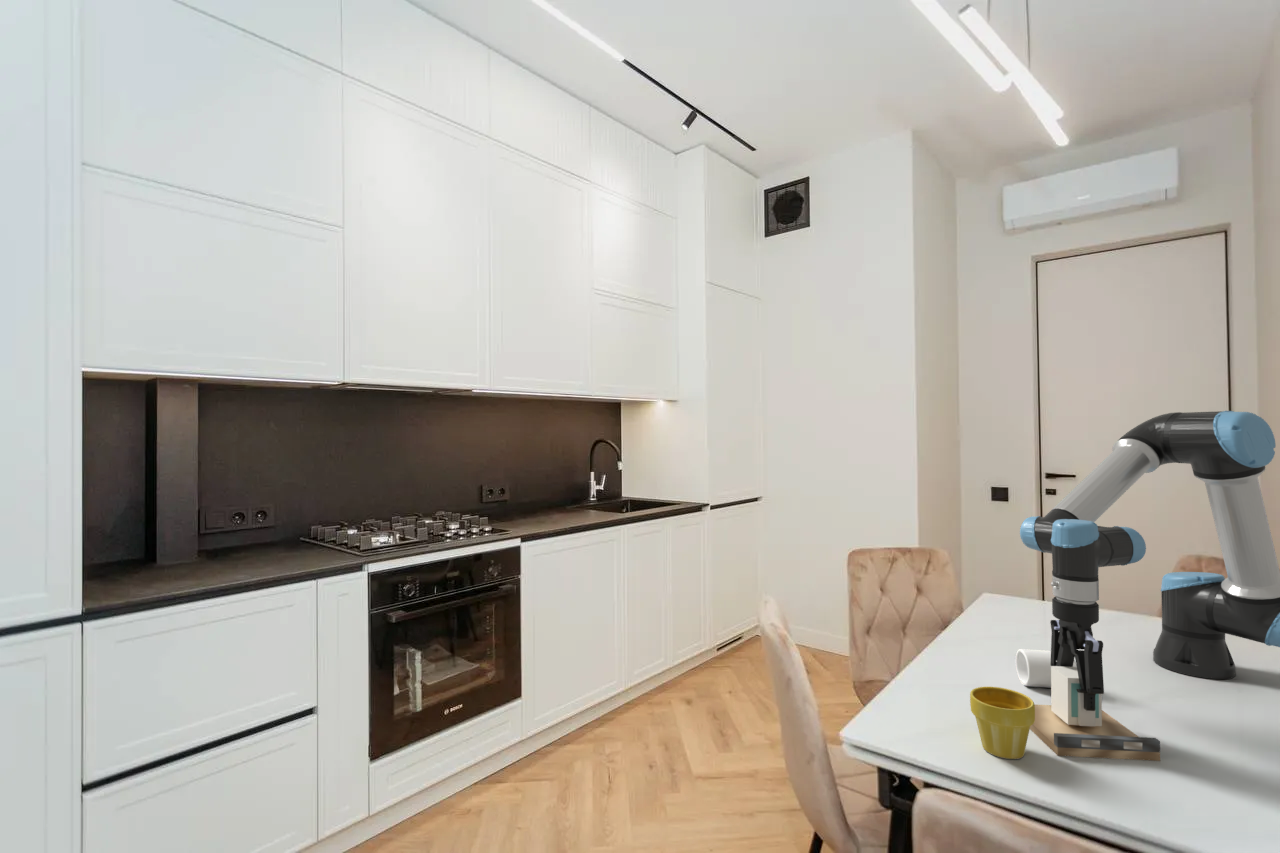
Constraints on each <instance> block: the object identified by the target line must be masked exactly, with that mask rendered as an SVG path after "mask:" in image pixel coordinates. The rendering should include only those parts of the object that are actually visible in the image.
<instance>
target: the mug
mask: <svg viewBox="0 0 1280 853" xmlns="http://www.w3.org/2000/svg"><path fill="white" fill-rule="evenodd" d="M1056 662H1057V661H1056ZM1073 667H1077V666H1076V660H1075V659H1074V663H1073ZM1015 670H1016V674H1017V677H1018V679H1019V682H1020V683H1021V684H1022V685H1023V686H1025V687H1032V688H1033V687H1034V688H1036V687H1037V688H1049V689H1051V650H1043V649H1027V648H1019V649H1018V650H1017V651H1016V654H1015Z"/></svg>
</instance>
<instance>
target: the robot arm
mask: <svg viewBox="0 0 1280 853" xmlns="http://www.w3.org/2000/svg"><path fill="white" fill-rule="evenodd" d="M1275 448H1276V439H1275V434H1274V432H1273V430H1272V428H1271V425H1269V424H1268V422H1267V421H1266V420H1265V419H1264V418H1262V417H1261V416H1259V415H1257V414H1256V413H1254V412H1249V411H1235V410H1222V411H1218V410H1217V411H1194V412H1193V411H1192V412H1191V411H1190V412H1180V411H1179V412H1169V413H1165V414H1164V413H1163V414H1160V415H1158V416H1154V417H1152V418H1150V419H1147V420H1145V421H1144V422H1141V423H1140V424H1137V425H1136V426H1134V427H1133V428H1132V429H1130V430H1129V431H1127V432H1125V434H1123V436H1121V437H1120V438H1119V439H1117V441H1115V442H1114V443H1113V446H1112V449H1111V450H1112V452H1111V453H1110V454H1109V455H1107V457H1106V458H1105V459H1104V460H1103V461H1102V462H1100V464H1098V465H1097V466H1096V467H1095V468H1094V469H1093V470H1092V471H1091V472H1090V473H1089V474H1088V475H1087V476H1086V477H1085V478H1084V479H1083V480H1081V481H1080V482H1079V483H1078V484H1077V485H1076V486H1075V487H1074V488H1073V489H1071V491H1070V492H1068V493H1067V494H1066V496H1065V497H1063V499H1062V500H1060V501H1059V502H1058V503H1057V504H1056V505H1055V506H1054V507H1053V508H1052V509H1051V510H1050V511H1048V513H1047V514H1046V515H1044V516H1039V515H1037V516H1029V517H1027V518H1025V519H1024V520H1023V522H1022V523H1021V526H1020V528H1019V535H1020V536H1019V537H1020V539H1021V542H1022V543H1023V544H1024V546H1026V547H1027V548H1029V549H1031V550H1035V551H1038V552H1041V553H1045V554H1046V553H1047V554H1051V558H1052V559H1051V560H1052V562H1051V564H1052V571H1051V574H1052V576H1051V577H1052V579H1051V582H1050V586H1051V587H1052V595H1053V596H1054V597H1053V598H1052V599H1051V600H1052V601H1051V602H1052V603H1051V605H1052V607H1051V610H1052V611H1051V612H1052V615H1053V617H1054V618H1056V619H1051V620H1050V623H1049V624H1050V629H1051V641H1050V642H1051V643H1050V645H1051V646H1050V651H1051V666H1066V667H1073V663H1074V660H1075V662H1076V666H1077V671H1078V677H1079V683H1080V688H1081V689H1077V692H1078V724H1079V725H1080V726H1095V695H1096V694H1102V695H1104V693H1105V686H1104V684H1105V683H1104V668H1103V648H1104V642H1103V641H1102V640H1098V639H1097V640H1096V639H1095V637H1094V633H1093V630H1092V629H1093V628H1092V626H1093V625H1095V624H1097V623H1098V622H1099V621H1100V611H1099V610H1100V605H1099V603H1097V601H1099V600H1100V593H1099V592H1100V589H1099V588H1100V580H1099V568H1104V567H1116V566H1122V567H1123V566H1127V565H1130V564H1135V563H1137V562H1140V561H1141V560H1142V559H1143V558H1144V556H1145V554H1146V551H1147V545H1146V540H1145V539H1144V536H1142V534H1141V533H1140V532H1139V531H1138V530H1136V529H1134V528H1132V527H1128V526H1118V525H1113V526H1112V527H1111V526H1101V525H1098V524H1097V523H1096V521H1097V520H1098V519H1100V517H1102V516H1103V515H1104V513H1105V512H1107V511H1108V509H1110V508H1111V507H1112V506H1113V505H1114V503H1115V502H1117V501H1118V500H1119V499H1120V498H1121V497H1122V496H1123V495H1124V494H1125V493H1126V492H1128V490H1129V489H1130V488H1131V487H1132V486H1133V485H1134V484H1135V483H1136V482H1137V481H1138V480H1139V479H1140V478H1142V476H1143V475H1144V474H1148V473H1149V474H1150V473H1153V472H1154V471H1156V470H1157V469H1158V468H1159V467H1160V466H1164V465H1166V464H1174V463H1175V464H1176V463H1178V464H1186V465H1187V464H1188V465H1189V464H1190V465H1191V470H1192V472H1193V476H1194V478H1197V479H1198V480H1200V481H1202V482H1204V485H1205V490H1206V493H1207V496H1208V497H1207V498H1208V502H1209V505H1210V510H1211V513H1212V517H1213V522H1214V525H1215V526H1214V527H1215V529H1216V530H1215V531H1216V533H1217V539H1218V542H1219V546H1220V550H1221V555H1222V558H1223V561H1224V562H1223V563H1224V568H1225V571H1226V574H1227V577H1225V576H1224V575H1223V574H1221V573H1214V572H1204V571H1199V572H1198V571H1178V572H1177V571H1175V572H1173V571H1172V572H1167V573H1166V574H1164V575H1163V576H1162V578H1161V588H1160V592H1161V594H1160V595H1161V597H1160V598H1161V632H1160V635H1159V637H1158V639H1157V641H1156V644H1155V647H1154V648H1153V650H1152V651H1153V652H1152V661H1153V662H1154V663H1155V664H1156V665H1158V666H1160V667H1161V668H1162V667H1163V668H1165V669H1167V670H1169V671H1172V672H1175V673H1179V674H1183V675H1187V676H1191V677H1198V678H1203V679H1210V680H1211V679H1212V680H1225V679H1226V680H1229V679H1233V678H1235V677H1236V676H1237V674H1236V672H1237V670H1236V664H1235V662H1234V659H1233V657H1232V654H1231V652H1230V649H1229V647H1228V644H1227V642H1226V634H1227V635H1230V636H1234V637H1237V638H1242V639H1245V640H1246V639H1247V640H1249V641H1253V642H1257V643H1262V644H1265V645H1266V646H1268V647H1270V646H1273V647H1276V648H1277V647H1278V648H1280V567H1279V562H1278V559H1277V553H1276V550H1275V546H1274V540H1273V537H1272V532H1271V527H1270V523H1269V519H1268V515H1267V511H1266V507H1265V503H1264V498H1263V495H1262V490H1261V485H1260V482H1259V476H1262V474H1263V473H1264V472H1265V471H1266V466H1267V465H1269V464H1271V462H1272V460H1273V459H1274V457H1275V454H1276V451H1275ZM1056 661H1057V662H1056Z"/></svg>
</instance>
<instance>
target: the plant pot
mask: <svg viewBox="0 0 1280 853" xmlns="http://www.w3.org/2000/svg"><path fill="white" fill-rule="evenodd" d="M969 699H970V700H969V702H970V704H969V705H970V711H971V714H972V715H973V716H974V717H975V720H976V725H977V729H978V733H979V736H980V741H981V745H982V748H983V749H984V750H985V751H986V752H987V753H988V754H990V755H992V756H995V757H997V758H1001V759H1007V760H1019V759H1021V758H1023V757H1024V756H1025V753H1026V748H1027V743H1028V739H1029V733H1030V731H1031V730H1030V726H1031V725H1033V724H1034V722H1035V705H1034V704H1035V703H1034V701H1033V699H1032V698H1031V697H1029V696H1028V695H1026V694H1024V693H1021V692H1019V691H1016V690H1014V689H1009V688H1004V687H997V686H979V687H975V688H973V689H972V690H970V692H969Z"/></svg>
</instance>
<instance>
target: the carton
mask: <svg viewBox="0 0 1280 853" xmlns="http://www.w3.org/2000/svg"><path fill="white" fill-rule="evenodd" d="M1077 689H1081V688H1080V683H1079V677H1078V671H1077V667H1066V666H1051V688H1050V694H1051V697H1050V702H1051V704H1050V705H1051V711H1053V712H1054V713H1055V714H1056V715H1057V716H1058V717H1060V718H1061V719H1062V720H1063V721H1064V722H1066V723H1067V724H1068V725H1079V724H1078V692H1077ZM1102 696H1103V694H1096V695H1095V726H1102V710H1103V708H1102V707H1103V706H1102V703H1103V700H1102V699H1103V697H1102Z"/></svg>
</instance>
